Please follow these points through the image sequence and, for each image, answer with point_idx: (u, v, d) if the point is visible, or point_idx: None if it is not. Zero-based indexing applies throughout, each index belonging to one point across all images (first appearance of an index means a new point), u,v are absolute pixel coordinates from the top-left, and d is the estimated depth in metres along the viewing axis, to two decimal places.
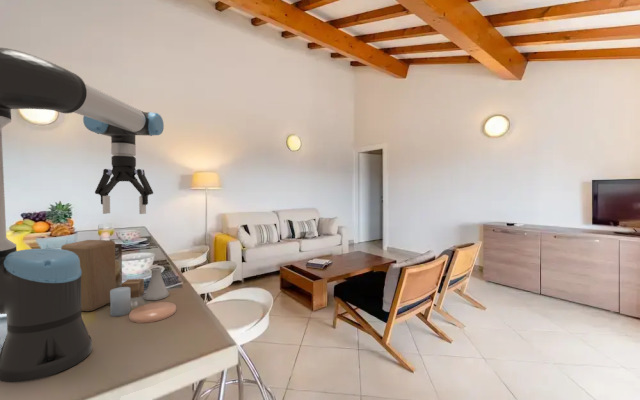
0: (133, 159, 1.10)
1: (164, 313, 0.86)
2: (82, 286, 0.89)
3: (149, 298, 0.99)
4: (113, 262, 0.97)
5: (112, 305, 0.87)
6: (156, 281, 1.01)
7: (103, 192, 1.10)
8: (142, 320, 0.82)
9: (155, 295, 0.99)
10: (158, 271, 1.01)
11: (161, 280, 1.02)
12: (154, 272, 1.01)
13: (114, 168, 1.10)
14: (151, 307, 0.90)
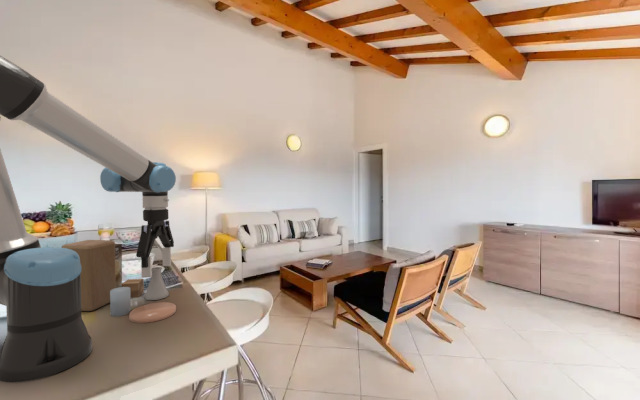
0: (149, 213, 0.98)
1: (164, 313, 0.86)
2: (82, 286, 0.89)
3: (149, 298, 0.99)
4: (113, 262, 0.97)
5: (112, 305, 0.87)
6: (156, 281, 1.01)
7: None
8: (142, 320, 0.82)
9: (155, 295, 0.99)
10: (158, 271, 1.01)
11: (161, 280, 1.02)
12: (154, 272, 1.01)
13: None
14: (151, 307, 0.90)
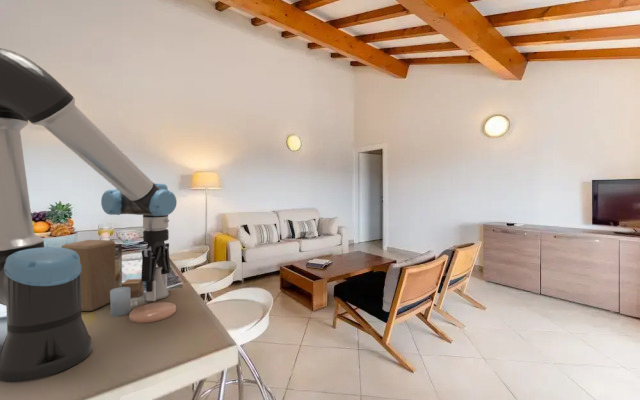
0: (149, 234, 0.98)
1: (164, 313, 0.86)
2: (82, 286, 0.89)
3: None
4: (113, 262, 0.97)
5: (112, 305, 0.87)
6: (156, 281, 1.01)
7: None
8: (142, 320, 0.82)
9: (156, 295, 0.99)
10: (158, 271, 1.01)
11: (161, 280, 1.02)
12: None
13: None
14: (151, 307, 0.90)
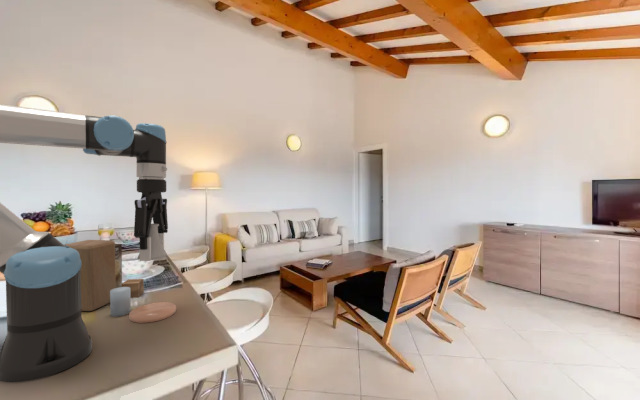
0: (144, 182, 0.84)
1: (164, 313, 0.86)
2: (82, 286, 0.89)
3: None
4: (113, 262, 0.97)
5: (112, 305, 0.87)
6: (152, 239, 0.86)
7: None
8: (142, 320, 0.82)
9: (151, 254, 0.85)
10: (154, 227, 0.87)
11: (158, 238, 0.88)
12: (150, 228, 0.86)
13: None
14: (151, 307, 0.90)
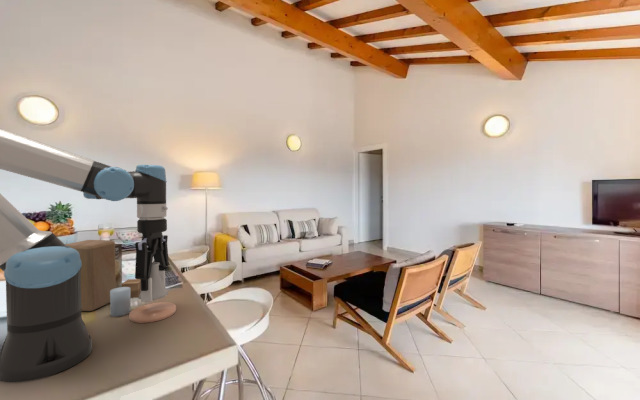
0: (144, 224, 0.84)
1: (164, 313, 0.86)
2: (82, 286, 0.89)
3: None
4: (113, 262, 0.97)
5: (112, 305, 0.87)
6: (153, 278, 0.87)
7: None
8: (142, 320, 0.82)
9: (152, 295, 0.85)
10: (155, 267, 0.87)
11: (159, 277, 0.88)
12: (151, 268, 0.87)
13: None
14: (151, 307, 0.90)
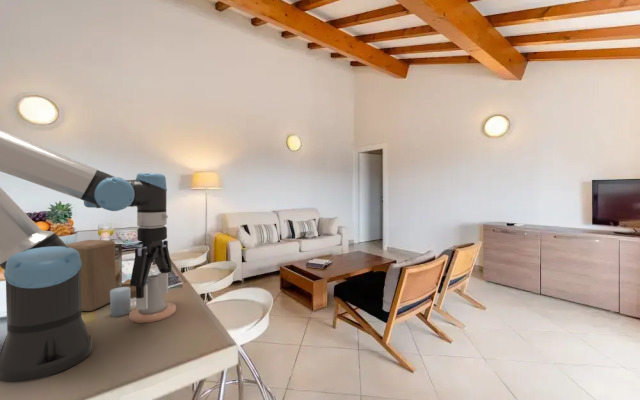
0: (144, 232, 0.84)
1: (164, 313, 0.86)
2: (82, 286, 0.89)
3: (145, 311, 0.85)
4: (113, 262, 0.97)
5: (112, 305, 0.87)
6: (153, 291, 0.87)
7: None
8: (142, 320, 0.82)
9: (152, 308, 0.85)
10: (155, 280, 0.87)
11: (158, 290, 0.88)
12: (150, 281, 0.87)
13: None
14: None
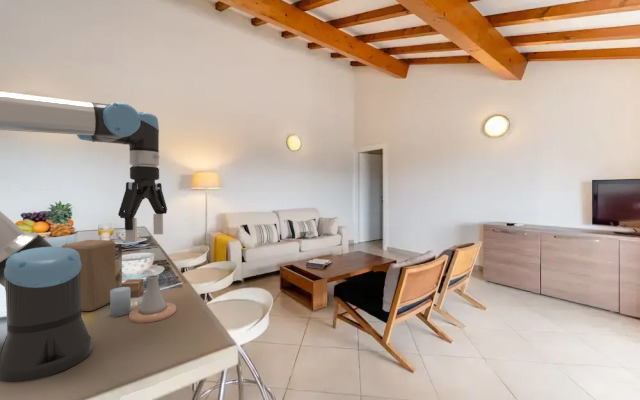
0: (136, 169, 0.86)
1: (164, 313, 0.86)
2: (82, 286, 0.89)
3: (145, 311, 0.85)
4: (113, 262, 0.97)
5: (112, 305, 0.87)
6: (153, 291, 0.87)
7: None
8: (142, 320, 0.82)
9: (152, 308, 0.85)
10: (155, 280, 0.87)
11: (158, 290, 0.88)
12: (150, 281, 0.87)
13: None
14: None
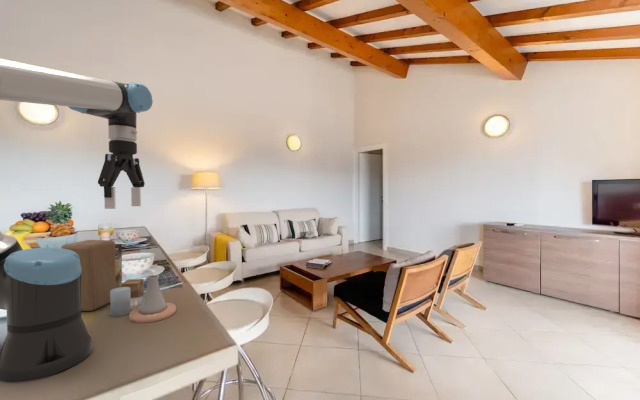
0: (115, 143, 0.93)
1: (164, 313, 0.86)
2: (82, 286, 0.89)
3: (145, 311, 0.85)
4: (113, 262, 0.97)
5: (112, 305, 0.87)
6: (153, 291, 0.87)
7: None
8: (142, 320, 0.82)
9: (152, 308, 0.85)
10: (155, 280, 0.87)
11: (158, 290, 0.88)
12: (150, 281, 0.87)
13: None
14: None
